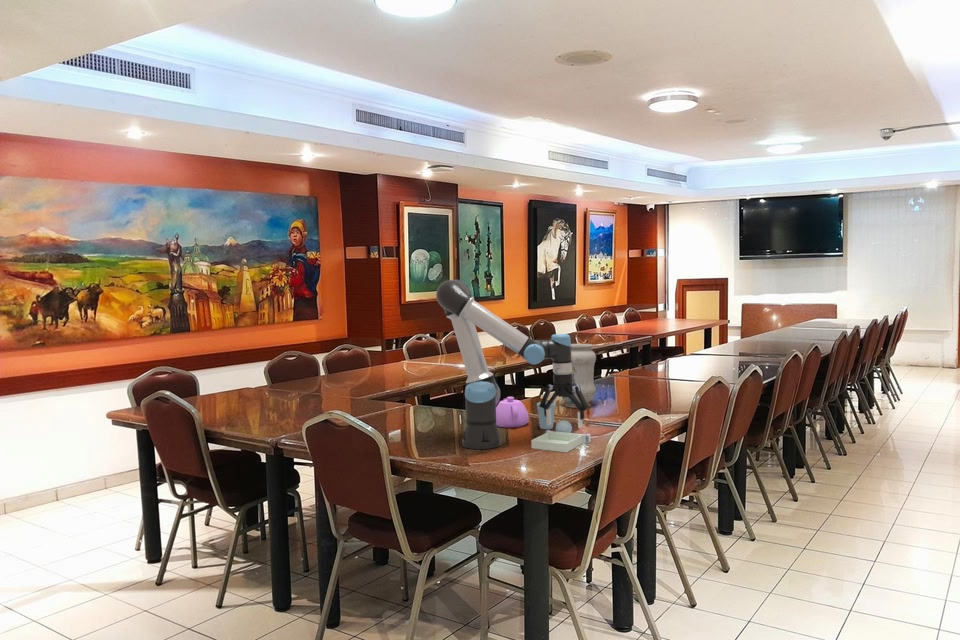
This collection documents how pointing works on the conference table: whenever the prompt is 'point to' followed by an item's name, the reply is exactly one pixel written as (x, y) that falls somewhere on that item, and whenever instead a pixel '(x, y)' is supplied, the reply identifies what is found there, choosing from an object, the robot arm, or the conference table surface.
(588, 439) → the white bar handle
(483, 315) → the robot arm
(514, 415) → the teapot
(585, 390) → the vase
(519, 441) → the conference table surface
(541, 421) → the cup
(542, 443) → the tray
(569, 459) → the conference table surface
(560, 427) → the ball
